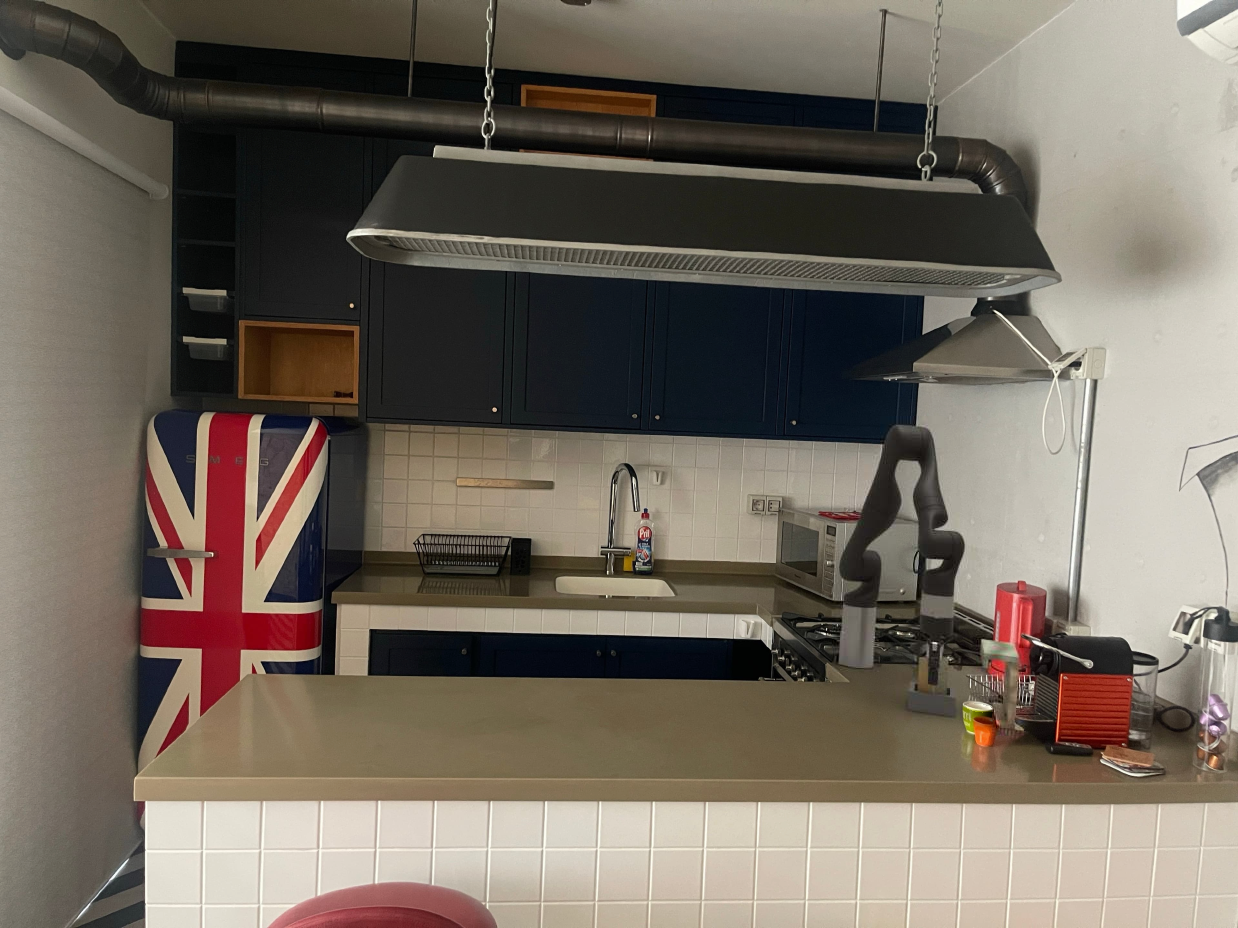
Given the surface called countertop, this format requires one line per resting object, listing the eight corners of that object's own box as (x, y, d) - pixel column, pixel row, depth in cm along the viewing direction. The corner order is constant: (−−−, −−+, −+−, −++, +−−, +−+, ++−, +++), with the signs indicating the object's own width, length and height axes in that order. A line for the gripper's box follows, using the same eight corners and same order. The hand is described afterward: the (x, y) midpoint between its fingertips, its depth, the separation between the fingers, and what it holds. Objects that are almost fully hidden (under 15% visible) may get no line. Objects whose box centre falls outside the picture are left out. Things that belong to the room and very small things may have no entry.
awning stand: (979, 724, 196) (984, 652, 196) (977, 704, 213) (981, 639, 213) (1025, 731, 192) (1030, 658, 192) (1019, 710, 209) (1023, 644, 209)
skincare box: (930, 704, 210) (933, 654, 210) (946, 708, 207) (949, 658, 207) (915, 707, 206) (918, 656, 206) (931, 712, 203) (934, 660, 203)
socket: (907, 709, 204) (908, 690, 204) (909, 699, 214) (910, 681, 214) (954, 717, 200) (955, 697, 200) (954, 706, 210) (955, 687, 210)
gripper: (921, 607, 215) (917, 672, 215) (919, 615, 202) (915, 685, 202) (953, 611, 212) (949, 676, 212) (953, 619, 199) (949, 689, 199)
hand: (932, 680), depth 207 cm, fingers open, 8 cm apart
